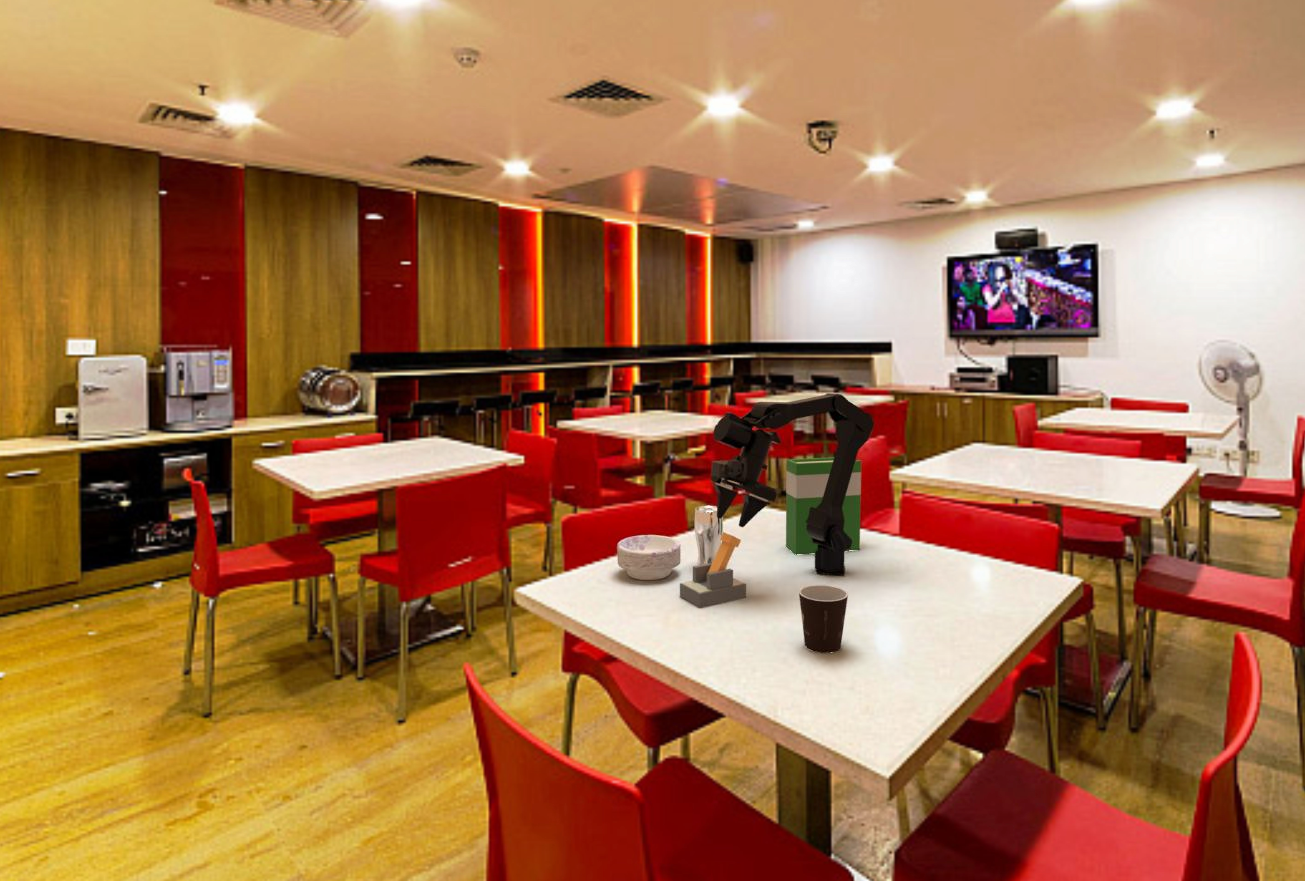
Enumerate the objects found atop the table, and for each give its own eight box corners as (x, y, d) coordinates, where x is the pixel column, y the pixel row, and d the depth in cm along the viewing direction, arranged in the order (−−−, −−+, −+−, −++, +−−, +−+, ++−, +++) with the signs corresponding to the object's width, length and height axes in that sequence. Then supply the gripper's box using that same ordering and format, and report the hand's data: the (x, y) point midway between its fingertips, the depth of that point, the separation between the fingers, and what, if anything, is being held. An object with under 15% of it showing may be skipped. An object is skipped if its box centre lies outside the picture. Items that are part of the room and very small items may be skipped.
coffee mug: (809, 632, 138) (809, 582, 137) (853, 642, 133) (854, 590, 132) (783, 654, 129) (784, 600, 127) (830, 666, 124) (831, 609, 123)
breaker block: (725, 586, 165) (725, 559, 164) (746, 597, 158) (746, 568, 157) (680, 596, 159) (679, 567, 158) (699, 607, 152) (699, 577, 151)
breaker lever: (711, 581, 160) (731, 536, 162) (720, 586, 157) (741, 540, 158) (702, 577, 159) (723, 532, 160) (711, 582, 156) (732, 535, 157)
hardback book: (847, 543, 199) (849, 456, 196) (859, 550, 192) (861, 460, 188) (785, 547, 196) (786, 459, 193) (795, 555, 189) (796, 463, 185)
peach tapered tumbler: (721, 573, 175) (721, 512, 173) (693, 571, 176) (692, 511, 174) (724, 564, 182) (724, 505, 180) (697, 563, 183) (696, 505, 181)
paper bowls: (668, 587, 165) (667, 554, 164) (607, 581, 171) (606, 548, 170) (689, 568, 179) (689, 537, 178) (632, 562, 185) (632, 532, 184)
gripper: (703, 439, 166) (680, 503, 165) (748, 449, 149) (722, 521, 149) (741, 455, 171) (718, 517, 170) (788, 466, 154) (764, 535, 154)
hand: (729, 522), depth 161 cm, fingers open, 9 cm apart
